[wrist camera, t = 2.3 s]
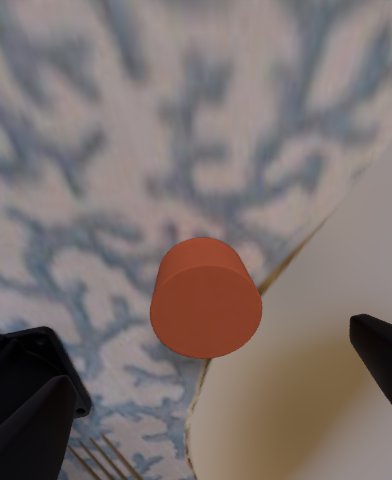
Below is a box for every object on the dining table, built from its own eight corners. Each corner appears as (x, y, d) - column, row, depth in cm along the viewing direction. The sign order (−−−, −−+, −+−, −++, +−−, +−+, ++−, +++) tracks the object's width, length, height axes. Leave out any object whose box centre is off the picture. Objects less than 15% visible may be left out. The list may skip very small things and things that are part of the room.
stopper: (249, 304, 13) (268, 347, 10) (169, 321, 13) (165, 368, 10) (237, 228, 11) (255, 253, 8) (147, 247, 11) (135, 278, 8)
